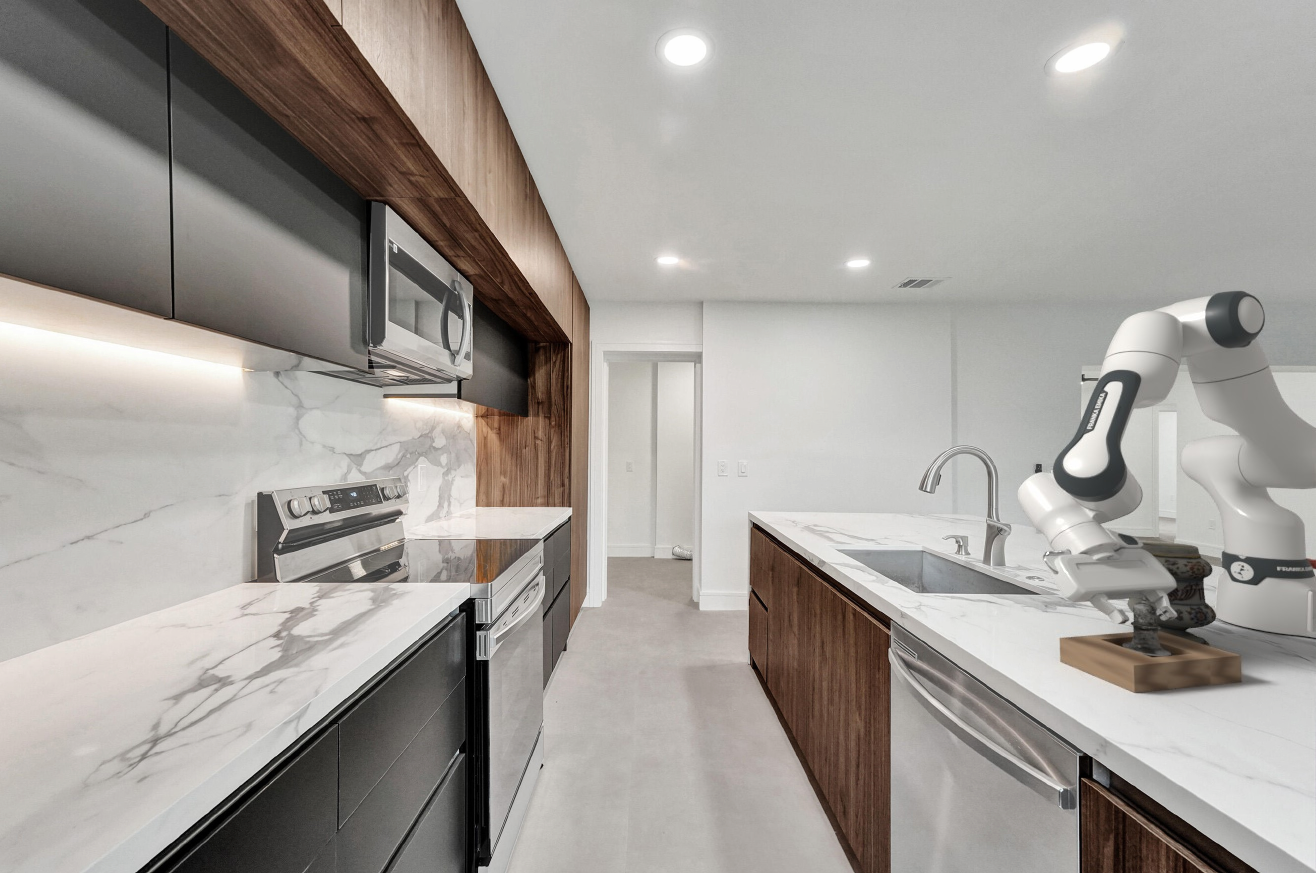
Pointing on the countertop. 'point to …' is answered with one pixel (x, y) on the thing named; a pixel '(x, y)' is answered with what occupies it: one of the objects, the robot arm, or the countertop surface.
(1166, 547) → the apothecary jar
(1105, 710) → the countertop surface
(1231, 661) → the wooden tray
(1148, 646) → the salt shaker
